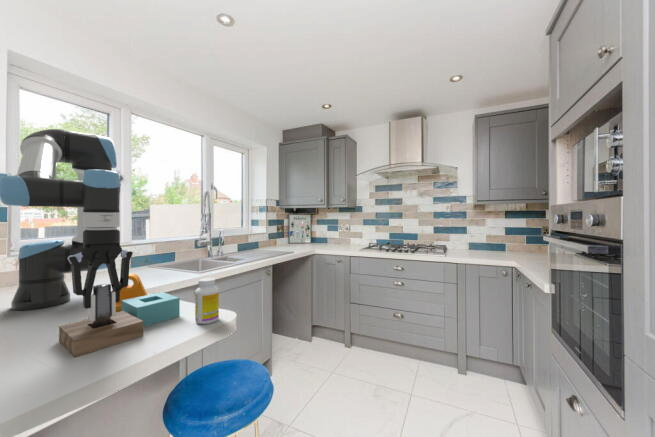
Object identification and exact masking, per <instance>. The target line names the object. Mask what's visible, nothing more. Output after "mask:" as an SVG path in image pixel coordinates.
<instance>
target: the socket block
mask: <svg viewBox="0 0 655 437" xmlns="http://www.w3.org/2000/svg"><path fill="white" fill-rule="evenodd" d="M143 336H144V327H143V321H142V320H140V319H138V318H137V317H135V316H133V315H131V314H129V313H127V312H125V311H121V312H117V313H116V316H113V317H112V316H111V324H110V325H106V326H102V327H98V328H94V329H93V321H92V322H91V321H90V320H89V319H88V318H87V319H84V320H79V321H75V322H74V321H73V322H70V323H67V324H61V325H59V326H58V342H59V343H60V344H61V345H62V346H63V347H64V349H66V351H67V352H68V353H70V355H71V356H72V357H73V358H77V357H79V356H83V355H87V354H89V353H92V352H97V351H99V350H102V349H105V348H109V347H111V346H116V345H118V344H122V343H125V342H128V341H131V340H134V339H137V338H141V337H143Z"/></svg>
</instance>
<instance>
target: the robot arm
mask: <svg viewBox="0 0 655 437" xmlns="http://www.w3.org/2000/svg"><path fill="white" fill-rule="evenodd" d="M19 146H20V147H19V150H20V153H21V155H22V157H21V160H20V163H19V167H18V169H17V174H15V175H2V176H1V177H0V202H1V203H2V204H3V205H6V206H16V207H22V208H23V207H24V208H25V207H26V208H27V207H47V208H50V207H56V208H57V207H59V208H62V207H63V208H77V210H76V211H77V212H76V213H77V214H76V215H77V216H76V217H77V219H76V224H77V225H76V228H77V229H76V234H75V235H74V236H73V237H72V238H71V242H65V240H64V239H55V240H54V239H53V240H52V239H51V240H46V241H45V240H43V241H37V242H33V243H27V244H24V245H21V246H20V247H19V250H18V258H17V260H18V287H17V289H16V292H15V294H14V295H13V298H12V300H11V304H10V306H11V310H13V311H27V310H29V311H30V310H38V309H44V308H50V307H53V306H58V305H62V304H64V303H68V302H69V301H70V300H71V291H70V290H69V288H68V286H67V283H66V281H65V274H69V273H70V274H71V280H72V292H73V294H74V295H76V296H82V307H83V308H84V309H85V310H87V309H88V311H87V312H88V313H87V314H88V315H87V316H88V317H87V319H89V320H90V321H91V322H92V321H95V295H93V286H95V285H94V283H95V280H96V275H97V271H99V270H107V273H108V278H109V281H110V284H111V316H112V317H113V316H116V302H119V301H120V290H121V289H122V288H124V287H127V286H128V285H129V280H130V279H129V274H130V261H131V259H132V256H133V251H130V250H125V249H123V248H122V246H121V230H120V229H118V228H119V227H121V226H120V225H121V224H120V223H121V222H120V221H121V218H120V216H121V215H120V212H121V210H120V206H121V205H120V198H121V196H120V193H121V192H120V191H121V182H120V180H121V179H120V174H119V173H118V172H117V171H115V170H114V171H113V170H112V169H115V168H116V169H117V165H118V164H117V154H116V148H115V147H116V146H115V144H114V141H113V140H112V138H110V137H107V136H102V135H98V134H90V133H84V132H77V131H71V130H70V131H69V130H64V129H57V128H54V129H53V128H51V129H43V130H38V131H35V132H32V133H30V134H28V135H27V136H25V137H24V138H23V139H22V140H21V143H20V145H19ZM58 163H65V164H70V165H71V169H72V170H73V171H74V172H75V173H76V174H77V179H63V178H62V179H61V178H57V173H58V172H57V171H58ZM119 255H120V258H121V260H120V262H121V263H120V275H119V276H120V277H119V276H118V270H117V268H116V266H117V265H116V259H117V258H118V257H119ZM82 272H86V277H85V281H84V286H83V285H82V283H83V282H82ZM119 281H120V283H119Z"/></svg>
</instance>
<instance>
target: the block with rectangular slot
mask: <svg viewBox="0 0 655 437" xmlns="http://www.w3.org/2000/svg"><path fill="white" fill-rule="evenodd" d="M121 311H125V312H127V313H129V314H131V315H133V316H135V317H137V318H138V319H140V320H142V321H143V328H145V327H147V326H150V325H154V324H156V323H157V324H158V323H161V322H165V321H168V320H172V319H175V318H178V317H177V316H179V317H180V314H181V310H180V297H179V296H176V295H173V294H169V293H166V292H163V291H160V292H156V293H151V294H147V295H145V296H141V297H136V298H131V299H126V300H121Z"/></svg>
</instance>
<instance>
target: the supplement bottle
mask: <svg viewBox="0 0 655 437" xmlns="http://www.w3.org/2000/svg"><path fill="white" fill-rule="evenodd" d="M215 284H216V278H215V277H205V278H200V279H199V280H198V285H199V287H198V288H196V289H195V291H194V293H195V294H194V296H195V298H194V300H195V301H194V302H195V303H194V304H195V306H194V307H195V308H194V309H195V310H194V311H195V313H194V315H195V318H194V319H195V323H196V324H200V325H209V324H212V323H215V322H217V321H218V320H219V316H220V313H219V312H220V311H219V310H220V309H219V308H220V307H219V306H220V305H219V303H220V302H219V300H220V298H219V296H220V295H219V288H218V286H216V285H215Z"/></svg>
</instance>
